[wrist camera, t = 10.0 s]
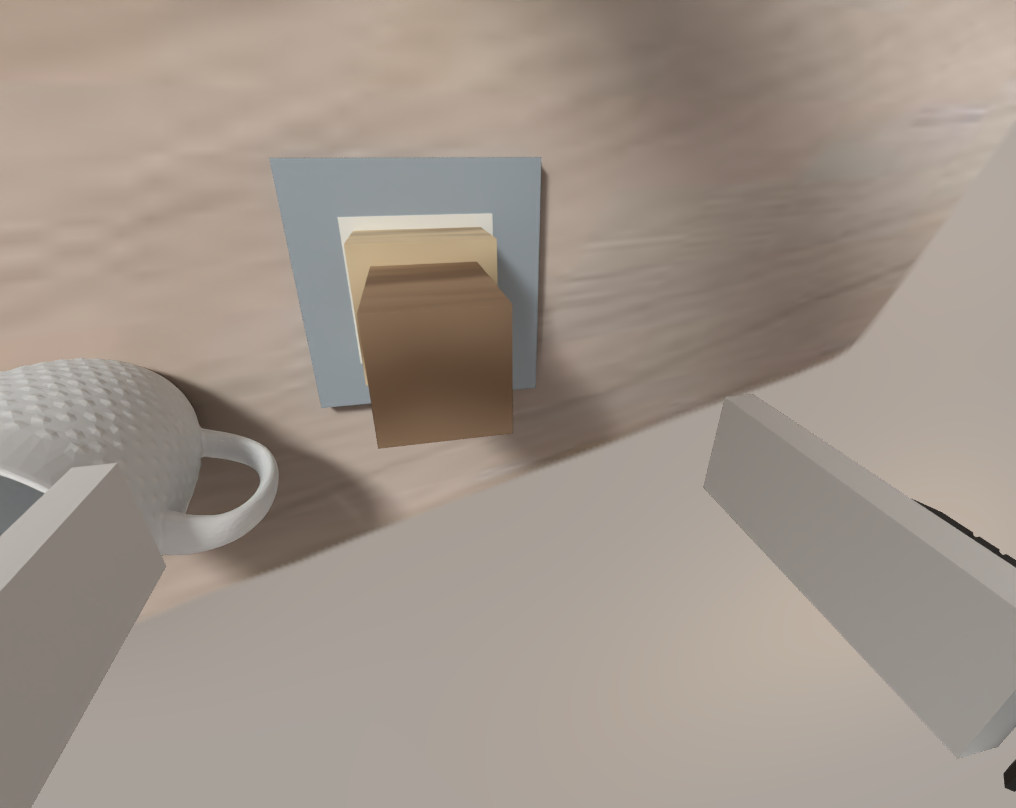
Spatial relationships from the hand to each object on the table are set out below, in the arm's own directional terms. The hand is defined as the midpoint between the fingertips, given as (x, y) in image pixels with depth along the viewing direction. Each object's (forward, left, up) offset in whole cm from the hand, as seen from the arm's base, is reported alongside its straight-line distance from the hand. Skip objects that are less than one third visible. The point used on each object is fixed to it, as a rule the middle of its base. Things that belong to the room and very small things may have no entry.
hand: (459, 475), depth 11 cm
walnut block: (0, 0, -14) cm, 14 cm away
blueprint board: (0, 0, -20) cm, 20 cm away
